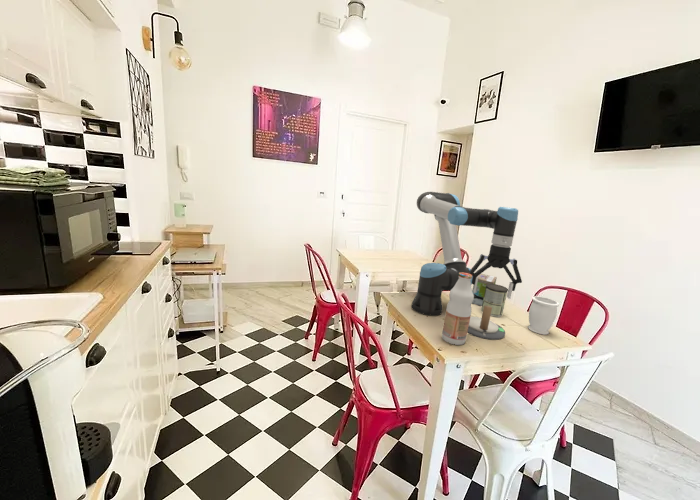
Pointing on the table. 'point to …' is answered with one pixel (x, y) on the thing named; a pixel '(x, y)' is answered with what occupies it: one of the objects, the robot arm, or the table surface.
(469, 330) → the dial base
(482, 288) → the tea box
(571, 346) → the table surface
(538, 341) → the table surface
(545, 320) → the jar
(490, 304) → the coffee can
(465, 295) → the fruit juice
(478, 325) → the tuner dial
